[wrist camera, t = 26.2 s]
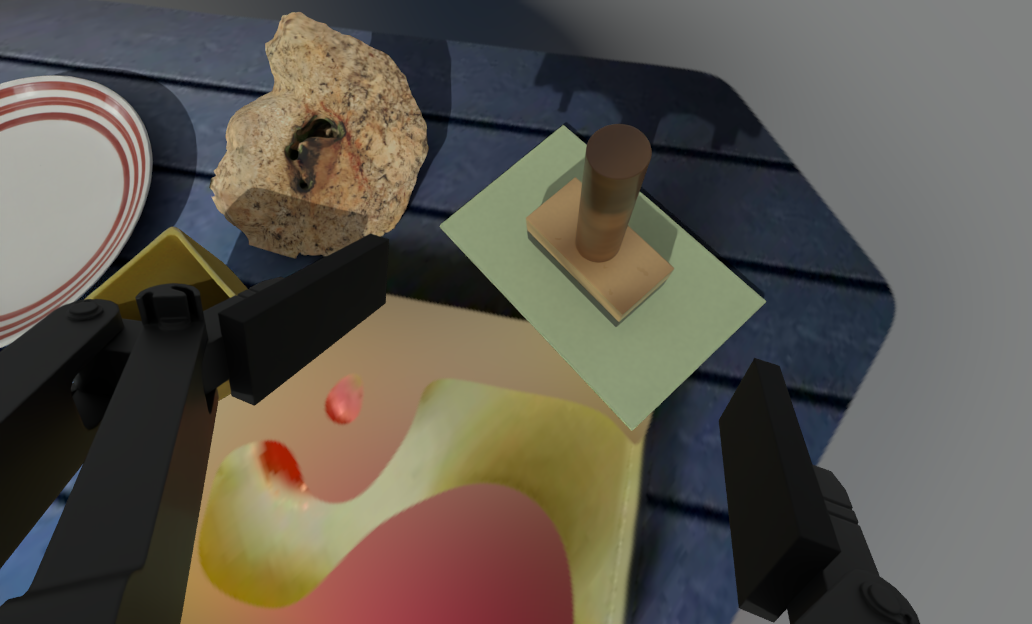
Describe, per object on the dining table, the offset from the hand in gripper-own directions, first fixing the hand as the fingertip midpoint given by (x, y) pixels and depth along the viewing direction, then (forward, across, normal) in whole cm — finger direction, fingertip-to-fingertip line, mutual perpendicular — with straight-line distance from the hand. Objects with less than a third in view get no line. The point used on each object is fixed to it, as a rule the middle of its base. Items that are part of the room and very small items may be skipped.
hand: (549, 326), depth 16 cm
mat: (+21, 0, -6) cm, 21 cm away
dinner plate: (+12, -50, -14) cm, 53 cm away
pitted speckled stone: (+21, -23, -6) cm, 32 cm away
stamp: (+20, 0, -5) cm, 21 cm away
